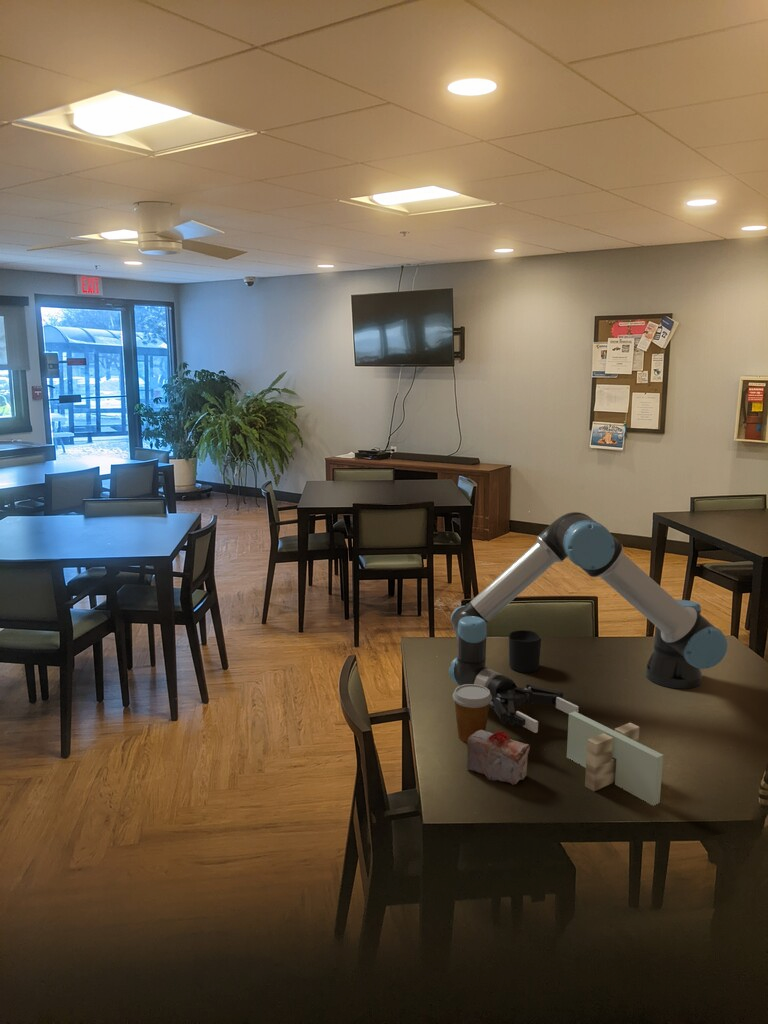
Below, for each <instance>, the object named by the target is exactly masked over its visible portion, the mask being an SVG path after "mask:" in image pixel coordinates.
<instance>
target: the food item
mask: <svg viewBox="0 0 768 1024" xmlns="http://www.w3.org/2000/svg"><path fill="white" fill-rule="evenodd" d="M466 744H467V746H466V747H467V748H466V750H467V753H466V755H467V756H466V759H467V760H466V769H467V770H469V771H474V772H476V773H479V774H482V775H485V777H486V778H487V780H489V781H500V782H505V783H508V784H511V785H512V786H514V785H517V784H518V782H519V781H521V780H522V781H523V780H524V779H525V778H526V776H527V772H528V771H527V769H528V758H529V757H528V755H529V752H530V748H531V747H530V744H528V743H524V742H520V741H518V740H515V739H511V735H510V734H508V733H505V731H504V730H503V731H501V730H497V731H495V733H493V732H490V731H486V730H485V731H484V730H479V731H476V732H475V733H473V734H472V735H471V736H470V737H469V738H468V740H467V742H466Z"/></svg>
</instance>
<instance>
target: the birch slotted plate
mask: <svg viewBox="0 0 768 1024" xmlns="http://www.w3.org/2000/svg"><path fill="white" fill-rule="evenodd" d="M613 730H614V731H616V732H618V733H620V734H622V735H624V736H626V737H628V738H630V739H632V740H634V741H636V742H638V743H639V737H640V726H639V725H636V724H634V723H632V722H628V723H625V724H623V725H620V726H619V727H615V728H614V729H613ZM612 747H613V737H611V736H609V735H607V734H605V733H603V734H600V735H598V736H595V737H593V738H590V739H588V740H587V756H586V768H585V779H584V787H585V788H587V789H588V790H590V791H592V792H596V791H598V790H600V789H602V788H604V787H607V786H609V785H611V784H614V783H615V775H616V759H615V758H613V757H612ZM613 782H614V783H613Z"/></svg>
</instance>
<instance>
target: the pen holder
mask: <svg viewBox="0 0 768 1024" xmlns="http://www.w3.org/2000/svg"><path fill="white" fill-rule="evenodd" d="M541 644H542V638H541V637H540V636H539V635H538V634H537V633H536V632H534V631H532V630H526V629H523V630H521V629H520V630H519V629H518V630H514V631H511V632H510V633H509V634H508V659H509V661H508V662H509V663H508V665H509V667H510V669H511V670H512V671H515V672H518V673H523V674H524V673H527V674H528V673H530V674H531V673H534V672H536V671H537V670H538V669H539V668H540V667H539V666H540V658H541V647H542V646H541Z"/></svg>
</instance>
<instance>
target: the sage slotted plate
mask: <svg viewBox="0 0 768 1024" xmlns="http://www.w3.org/2000/svg"><path fill="white" fill-rule="evenodd" d="M567 721H568V723H567V725H568V726H567V741H566V744H567V745H566V758H567V759H569V760H570V759H571V761H572V760H573V762H574V763H576V764H578V765H579V764H580V765H579V766H582V767H583V768H585V769H586V756H587V740H588V739H590V738H593V737H595V736H598V735H600V734H603V733H605V734H607V735H609V736H611V737H613V747H612V757H613V758H615V759H616V775H615V782H614V785H615V786H617V787H619V788H620V789H622V788H623V789H622V790H624V791H626V792H628V793H630V794H631V795H633V796H635V797H637V798H638V799H640V800H642V801H643V800H644V802H645V801H646V803H647V804H648V805H651V806H652V805H653V806H652V807H654V805H655V806H657V805H659V804H661V802H660V800H661V789H662V779H663V777H662V775H663V774H662V773H663V766H664V765H663V764H664V763H663V762H664V754H663V753H660V752H658V751H656V750H654V749H653V748H650V747H648V746H647V745H644V744H642V743H641V742H639V741H638V742H636V741H634V740H632V739H630V738H628V737H626V736H624V735H622V734H620V733H618V732H616V731H614V730H615V729H612V728H609V727H608V726H605V725H603V724H602V723H599V722H597V721H596V720H593V719H591V718H589V717H588V716H585V715H583V714H582V713H579V712H578V713H577V712H575V711H574V712H572V713H569V714H568V720H567ZM658 803H659V804H658ZM656 804H657V805H656Z"/></svg>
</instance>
